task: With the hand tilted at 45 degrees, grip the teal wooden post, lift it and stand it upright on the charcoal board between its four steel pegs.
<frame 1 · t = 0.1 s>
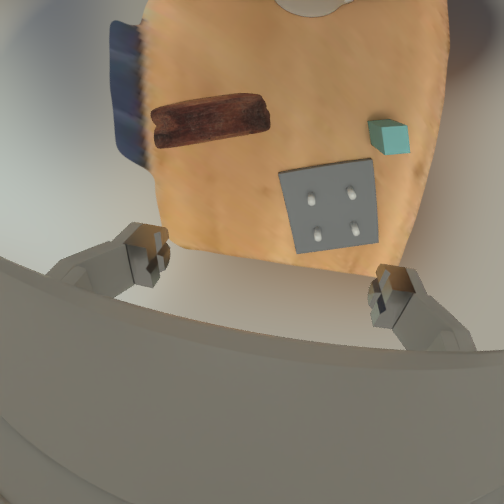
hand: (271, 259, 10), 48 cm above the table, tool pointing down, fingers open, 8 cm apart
peg board: (332, 207, 58), on the table
teal post: (380, 131, 47), on the table
wooden tablet: (208, 119, 52), on the table
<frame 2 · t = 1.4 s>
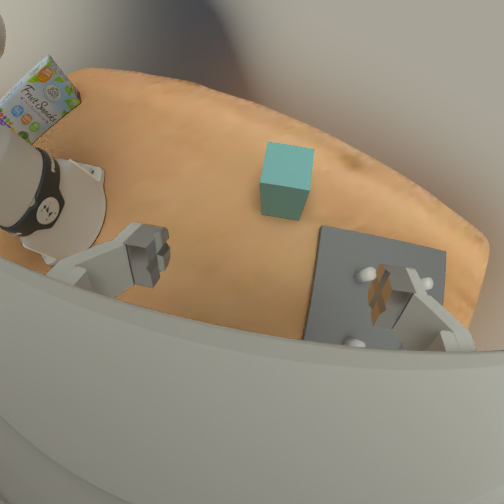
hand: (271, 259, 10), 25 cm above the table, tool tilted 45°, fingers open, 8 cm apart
peg board: (379, 313, 33), on the table
teal post: (283, 200, 37), on the table
snack box: (47, 125, 44), on the table
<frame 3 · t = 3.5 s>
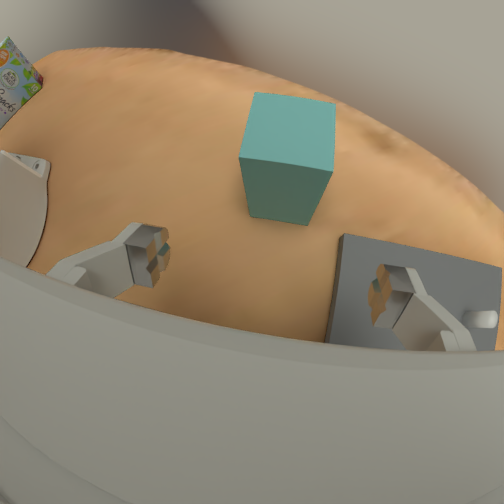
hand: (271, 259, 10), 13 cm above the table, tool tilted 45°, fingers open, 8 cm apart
peg board: (420, 360, 20), on the table
teal post: (282, 194, 24), on the table
snack box: (8, 116, 31), on the table
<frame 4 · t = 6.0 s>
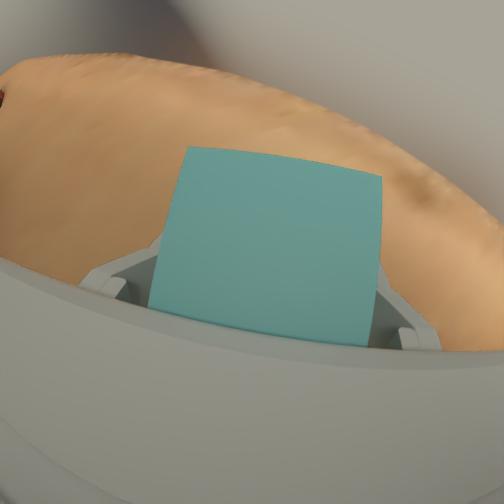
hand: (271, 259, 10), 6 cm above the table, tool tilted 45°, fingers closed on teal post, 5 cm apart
teal post: (268, 287, 16), on the table, touching gripper
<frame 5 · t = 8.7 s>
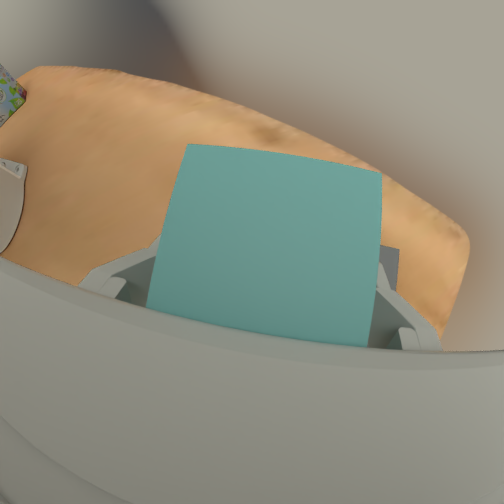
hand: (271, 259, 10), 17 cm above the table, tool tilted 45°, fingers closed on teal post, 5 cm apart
peg board: (291, 331, 26), on the table
teal post: (268, 286, 16), point 11 cm above the table, touching gripper
when the fingers open (9 cm above the table, at t = 11.3 s): teal post drops 1 cm, resting on peg board.
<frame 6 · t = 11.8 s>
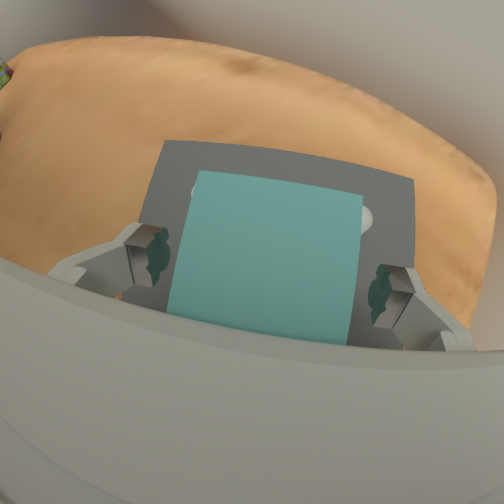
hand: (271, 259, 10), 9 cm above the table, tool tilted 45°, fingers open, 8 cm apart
peg board: (268, 290, 19), on the table
teal post: (267, 288, 17), point 1 cm above the table, touching peg board
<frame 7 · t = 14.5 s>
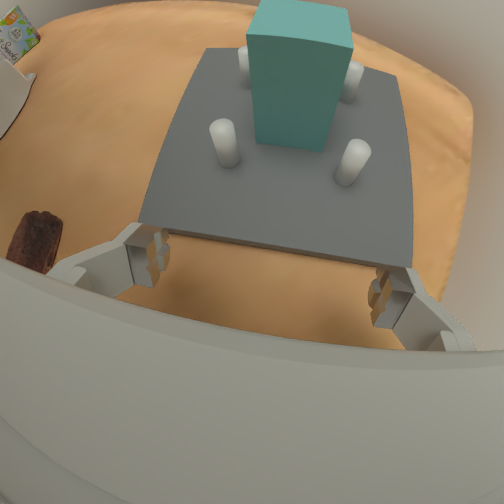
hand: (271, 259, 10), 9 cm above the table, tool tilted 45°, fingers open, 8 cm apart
peg board: (292, 133, 21), on the table
teal post: (292, 122, 19), point 1 cm above the table, touching peg board
wooden tablet: (17, 326, 20), on the table
snack box: (10, 66, 32), on the table
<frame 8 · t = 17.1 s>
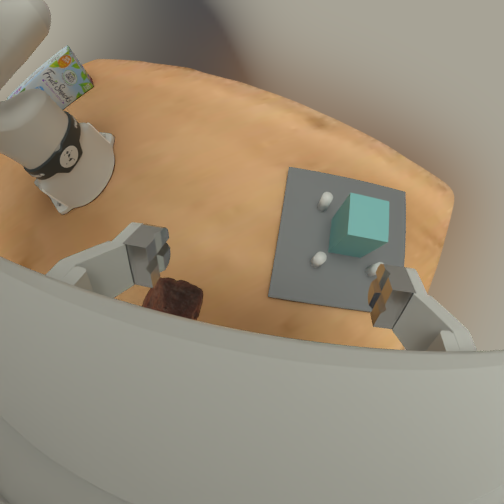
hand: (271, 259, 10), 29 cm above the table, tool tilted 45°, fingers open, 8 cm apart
peg board: (343, 241, 40), on the table
teal post: (346, 238, 38), point 1 cm above the table, touching peg board
wooden tablet: (156, 357, 39), on the table
snack box: (62, 106, 51), on the table
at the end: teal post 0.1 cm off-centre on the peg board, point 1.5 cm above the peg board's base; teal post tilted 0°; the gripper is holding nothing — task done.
